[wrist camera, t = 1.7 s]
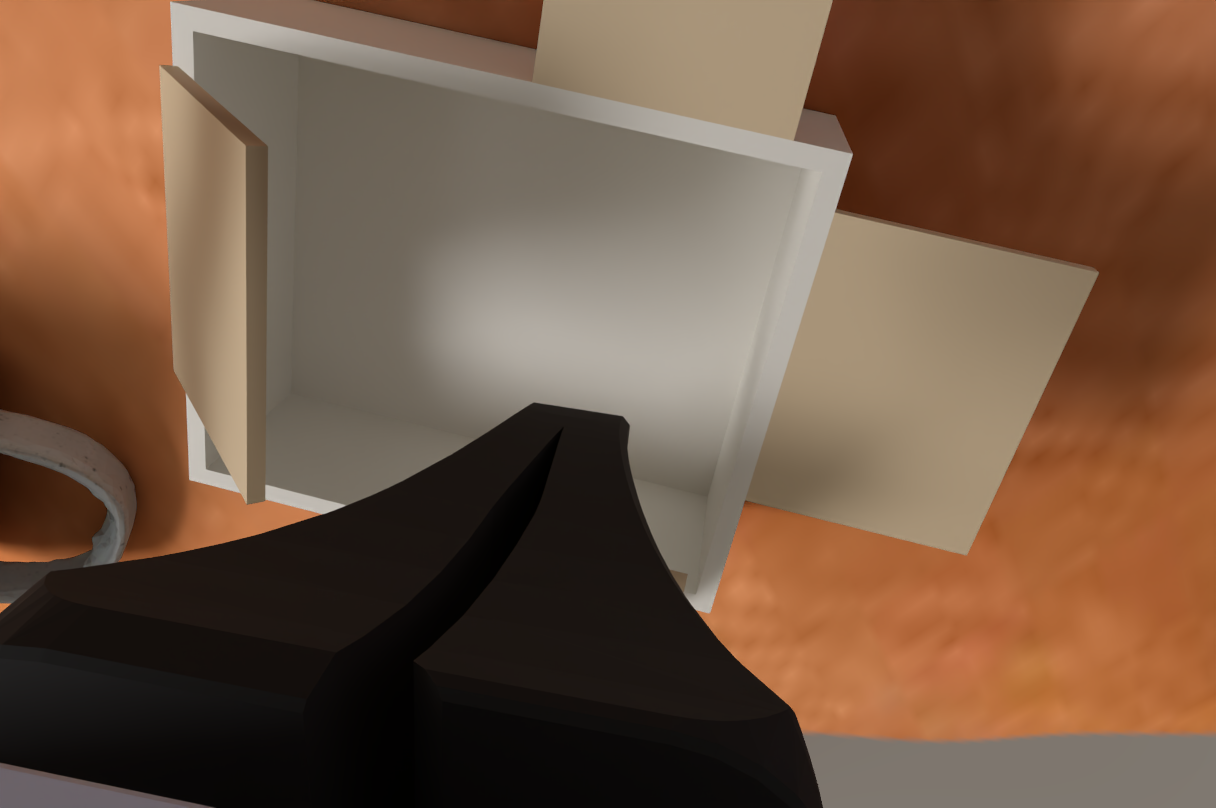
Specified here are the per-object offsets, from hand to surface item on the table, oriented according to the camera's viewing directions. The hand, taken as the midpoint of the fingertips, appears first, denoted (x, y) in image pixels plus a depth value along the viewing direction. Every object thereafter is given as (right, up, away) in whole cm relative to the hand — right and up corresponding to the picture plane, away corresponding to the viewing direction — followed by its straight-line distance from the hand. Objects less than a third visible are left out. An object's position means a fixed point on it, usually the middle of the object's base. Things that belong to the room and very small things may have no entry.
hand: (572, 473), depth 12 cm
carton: (+1, +6, +8) cm, 10 cm away
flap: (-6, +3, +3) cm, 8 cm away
